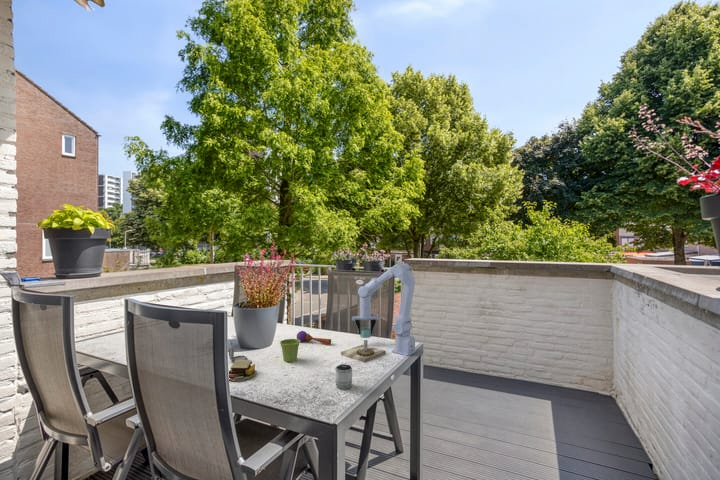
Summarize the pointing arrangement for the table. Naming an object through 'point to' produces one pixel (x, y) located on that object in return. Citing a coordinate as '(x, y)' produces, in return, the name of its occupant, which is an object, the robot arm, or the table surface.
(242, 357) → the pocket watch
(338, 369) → the camera lens
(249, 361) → the toy sandwich meal
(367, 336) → the teal faceted ring
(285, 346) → the plant pot
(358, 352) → the gear board
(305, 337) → the kendama
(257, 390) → the table surface
